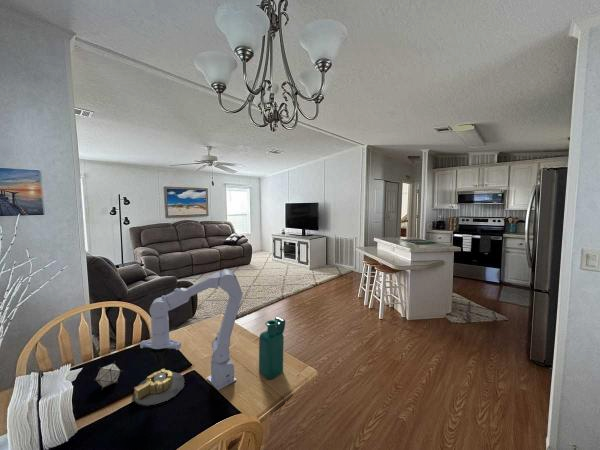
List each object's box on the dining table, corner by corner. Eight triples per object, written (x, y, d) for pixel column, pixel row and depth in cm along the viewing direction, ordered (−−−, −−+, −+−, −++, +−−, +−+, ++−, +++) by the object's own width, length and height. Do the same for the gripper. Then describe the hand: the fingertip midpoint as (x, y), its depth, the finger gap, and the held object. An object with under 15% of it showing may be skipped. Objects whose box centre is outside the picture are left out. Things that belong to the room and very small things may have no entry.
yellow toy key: (142, 403, 89) (142, 393, 88) (130, 393, 93) (130, 383, 93) (177, 383, 99) (177, 374, 99) (164, 374, 104) (164, 365, 104)
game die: (111, 390, 102) (123, 362, 107) (117, 392, 96) (130, 362, 102) (85, 388, 97) (99, 358, 102) (90, 390, 91) (105, 359, 97)
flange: (192, 388, 98) (191, 376, 98) (141, 414, 86) (141, 400, 86) (174, 368, 110) (174, 357, 110) (127, 388, 98) (127, 376, 97)
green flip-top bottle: (269, 381, 104) (270, 328, 102) (256, 371, 109) (257, 321, 108) (287, 370, 111) (288, 321, 109) (274, 362, 116) (275, 314, 115)
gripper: (184, 326, 99) (185, 360, 100) (148, 325, 100) (149, 358, 101) (174, 336, 92) (175, 372, 93) (135, 334, 93) (136, 370, 94)
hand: (161, 366), depth 96 cm, fingers closed
